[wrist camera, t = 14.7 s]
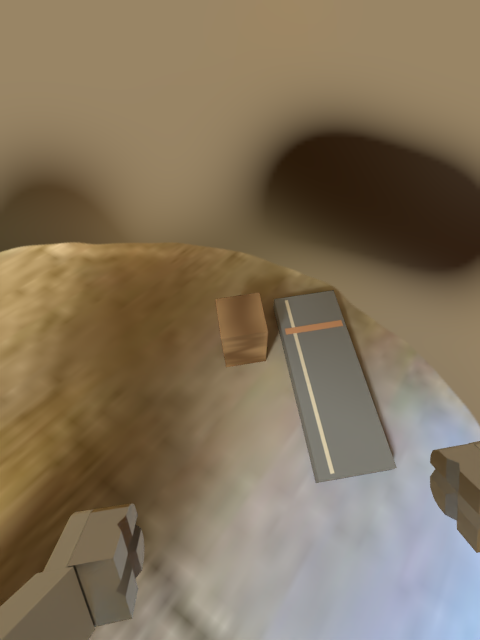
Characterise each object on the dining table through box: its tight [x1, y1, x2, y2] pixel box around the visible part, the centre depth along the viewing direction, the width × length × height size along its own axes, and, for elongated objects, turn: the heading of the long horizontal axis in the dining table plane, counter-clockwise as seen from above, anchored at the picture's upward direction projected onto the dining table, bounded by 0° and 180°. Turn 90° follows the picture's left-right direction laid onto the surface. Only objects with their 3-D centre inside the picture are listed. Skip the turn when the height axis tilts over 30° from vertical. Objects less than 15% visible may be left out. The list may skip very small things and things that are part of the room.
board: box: [273, 290, 396, 483], centre depth 40 cm, size 8×22×2 cm, turn 9°
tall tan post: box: [215, 293, 268, 367], centre depth 40 cm, size 5×5×8 cm
